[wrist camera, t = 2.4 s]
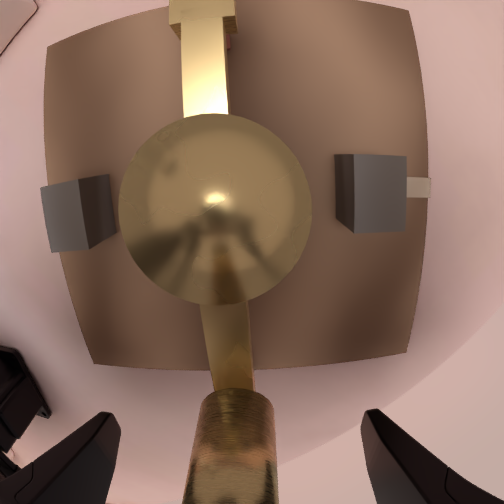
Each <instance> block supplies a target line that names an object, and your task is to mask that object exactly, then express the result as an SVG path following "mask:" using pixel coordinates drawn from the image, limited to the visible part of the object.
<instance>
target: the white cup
mask: <svg viewBox="0 0 504 504" xmlns="http://www.w3.org/2000/svg"><path fill="white" fill-rule="evenodd" d="M3 453H4V452H3ZM4 454H5V455H6V456H7V457H8V458H9V459H10V460H11V461H12V460H13V458H14V453H13V451H12V450H11V449H10V450H9V452H8V453H7V454H6V453H4Z"/></svg>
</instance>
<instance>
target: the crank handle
mask: <svg viewBox="0 0 504 504" xmlns="http://www.w3.org/2000/svg"><path fill="white" fill-rule="evenodd" d="M169 26H170V27H171V28H172V30H173V31H174V33H175V34H176V35H177V37H178V38H179V40H180V41H181V61H182V89H183V109H184V118H183V119H180V120H177V121H175V122H173V123H171V124H169V125H167V126H165V127H163V128H162V129H160V130H159V131H157V132H156V133H155V134H153V135H152V136H151V137H150V138H149V139H148V140H147V141H146V142H145V143H144V144H143V145H142V146H141V147H140V149H139V150H138V151H137V152H136V154H135V155H134V157H133V158H132V160H131V162H130V163H129V166H128V168H127V170H126V172H125V174H124V178H123V181H122V184H121V188H120V194H119V206H118V212H119V223H120V228H121V232H122V236H123V239H124V242H125V244H126V247H127V249H128V251H129V253H130V255H131V257H132V258H133V260H134V261H135V263H136V264H137V266H138V267H139V268H140V269H141V271H142V272H143V273H144V274H145V275H146V276H147V277H148V278H149V279H150V280H151V281H152V282H153V283H155V284H156V285H157V286H159V287H160V288H161V289H163V290H164V291H166V292H168V293H170V294H172V295H173V296H175V297H178V298H180V299H183V300H185V301H189V302H193V303H196V304H199V305H200V311H201V318H202V324H203V330H204V336H205V342H206V348H207V354H208V359H209V365H210V370H211V375H212V381H213V386H214V391H215V392H213V393H211V394H209V395H208V396H207V397H206V398H205V399H204V400H203V402H202V404H201V408H200V413H199V418H198V423H197V428H196V433H195V438H194V443H193V448H192V454H191V459H190V464H189V469H188V474H187V480H186V485H185V490H184V496H183V501H182V504H279V498H278V479H277V478H278V477H277V457H276V438H275V420H274V408H273V406H272V404H271V402H270V401H269V400H268V399H267V398H266V397H264V396H263V395H261V394H259V393H257V392H255V380H254V368H253V355H252V343H251V330H250V318H249V305H248V300H250V299H253V298H255V297H257V296H259V295H261V294H263V293H265V292H267V291H268V290H270V289H271V288H273V287H274V286H276V285H277V284H278V283H279V282H280V281H281V280H282V279H284V278H285V277H286V275H287V274H288V273H289V272H290V271H291V270H292V269H293V267H294V266H295V264H296V263H297V261H298V260H299V258H300V256H301V254H302V252H303V250H304V248H305V246H306V243H307V240H308V236H309V233H310V227H311V222H312V202H311V194H310V189H309V185H308V182H307V179H306V176H305V174H304V171H303V169H302V167H301V165H300V164H299V162H298V160H297V158H296V157H295V155H294V154H293V153H292V151H291V150H290V149H289V147H288V146H287V145H286V144H285V143H284V142H283V141H282V140H281V139H280V138H279V137H277V136H276V135H275V134H273V133H272V132H271V131H269V130H268V129H267V128H265V127H263V126H261V125H259V124H258V123H256V122H253V121H251V120H248V119H246V118H243V117H239V116H235V115H231V108H230V92H229V76H228V59H227V42H226V34H238V27H237V12H236V0H169Z"/></svg>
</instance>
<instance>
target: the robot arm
mask: <svg viewBox="0 0 504 504" xmlns="http://www.w3.org/2000/svg"><path fill="white" fill-rule="evenodd" d="M35 415H38V416H41V417H44V418H47V419H49V418H50V416H51V412H50V410H49V409H48V407H47V405H46V404H45V402H44V400H43V399H42V397H41V395H40V393H39V392H38V390H37V388H36V386H35V384H34V382H33V380H32V379H31V377H30V375H29V373H28V371H27V369H26V367H25V365H24V363H23V360H22V358H21V356H20V355H19V353H18V352H17V351H16V350H14V349H9V348H5V347H0V504H105V502H106V498H107V495H108V491H109V487H110V484H111V480H112V477H113V473H114V469H115V465H116V459H117V453H118V447H119V442H120V436H121V429H120V426H119V424H118V422H117V420H116V418H115V417H114V415H113V414H112V413H109V412H100V413H98V414H97V415H96V416H94V417H93V418H92V419H90V420H89V421H88V422H86V423H85V424H84V425H82V426H81V427H80V428H78V429H77V430H76V431H74V432H73V433H72V434H70V435H69V436H67V437H66V438H65V439H63V440H62V441H61V442H59V443H58V444H56V445H55V446H54V447H52V448H51V449H50V450H48V451H47V452H45V453H44V454H43V455H41V456H40V457H38V458H37V459H35V460H34V462H31V463H30V464H28V465H27V466H25V467H24V468H22V469H21V468H20V467H19V466H18V465H16V464H14V463H13V462H12V461H11V460H10V459H9V458H8V457H7V456H6V455H5V454H4V453H6V454H7V453H8V452H9V450H10V449H11V447H12V446H13V444H14V443H15V441H16V439H20V438H21V436H22V435H23V433H24V432H25V430H26V429H27V427H28V426H29V424H30V423H31V421H32V420H33V418H34V417H35ZM361 436H362V442H363V448H364V453H365V459H366V466H367V470H368V474H369V478H370V481H371V484H372V488H373V491H374V495H375V498H376V501H377V504H504V501H503V500H501V499H499V498H497V497H495V496H493V495H492V494H490V493H488V492H486V491H484V490H482V489H481V488H479V487H477V486H476V485H474V484H472V483H471V482H469V481H467V480H466V479H464V478H463V477H462V476H460V475H459V474H457V473H456V472H455V471H454V470H452V469H451V468H450V467H448V466H447V465H446V464H444V463H443V462H442V461H441V460H440V459H438V458H437V457H436V456H435V455H433V454H432V453H431V452H430V451H428V450H427V449H426V448H425V447H424V446H422V445H421V444H420V443H419V442H417V441H416V440H415V439H414V438H413V437H411V436H410V435H409V434H407V433H406V432H405V431H404V430H403V429H402V428H400V427H399V426H398V425H397V424H396V423H394V422H393V421H392V420H391V419H390V418H389V417H387V416H386V415H385V414H384V413H383V412H381V411H380V410H379V409H371V410H367V411H365V413H364V416H363V420H362V424H361ZM3 452H4V453H3Z"/></svg>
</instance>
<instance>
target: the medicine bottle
mask: <svg viewBox="0 0 504 504" xmlns="http://www.w3.org/2000/svg"><path fill="white" fill-rule="evenodd" d="M36 9H37V5H36V4H35V2H34V1H33V0H0V54H1V53H2V51H3V50H4V49H5V47H6V46H7V45H8V43H9V42H10V41H11V40H12V38H13V37H14V36H15V35H16V33H17V32H18V31H19V30H20V28H21V27H22V26H23V25H24V24H25V23H26V21H27V20H28V19H29V18H30V17H31V16H32V15H33V14H34V12H35V11H36Z"/></svg>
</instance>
